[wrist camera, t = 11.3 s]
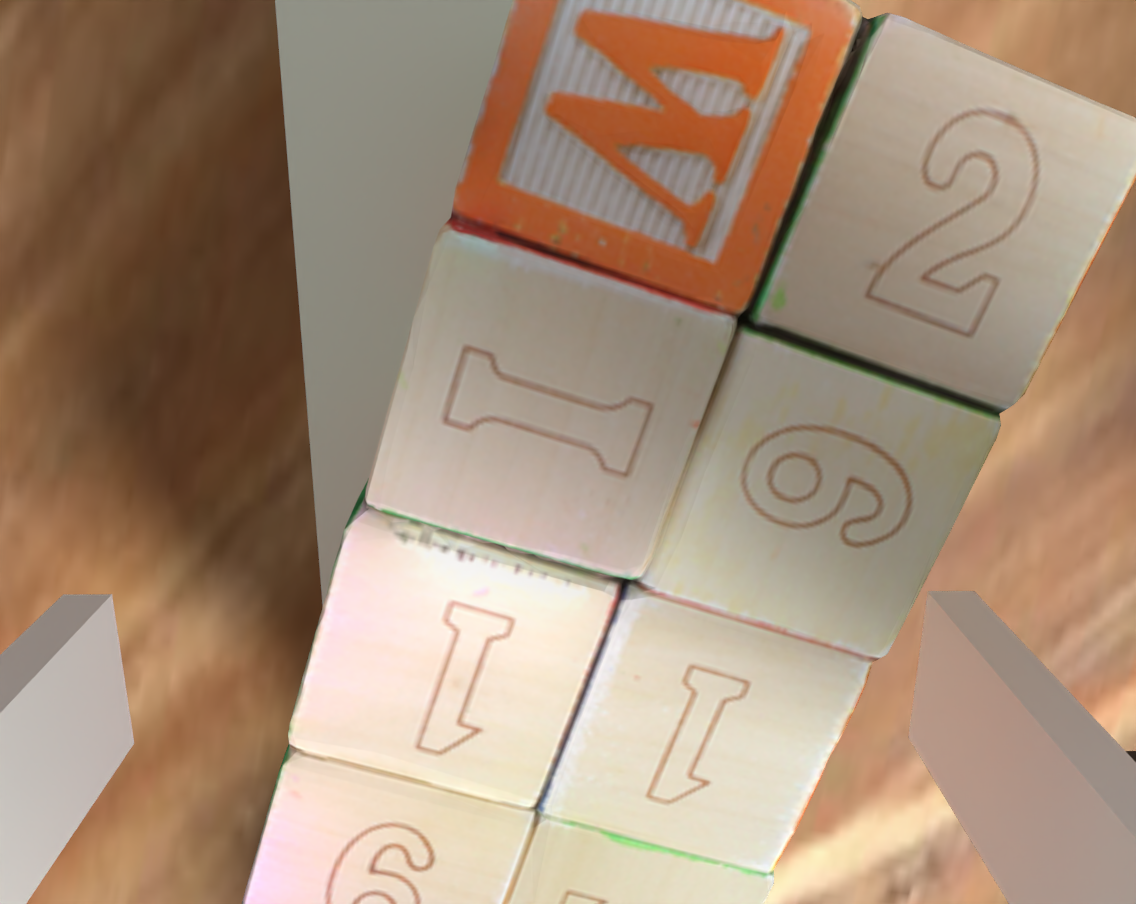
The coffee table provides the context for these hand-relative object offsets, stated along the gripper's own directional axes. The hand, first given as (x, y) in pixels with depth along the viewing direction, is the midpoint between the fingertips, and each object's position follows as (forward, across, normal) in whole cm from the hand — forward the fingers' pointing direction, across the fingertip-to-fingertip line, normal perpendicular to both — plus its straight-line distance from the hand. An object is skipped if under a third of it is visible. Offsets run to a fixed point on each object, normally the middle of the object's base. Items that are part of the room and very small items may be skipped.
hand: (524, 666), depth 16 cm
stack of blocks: (+8, 0, +1) cm, 8 cm away
